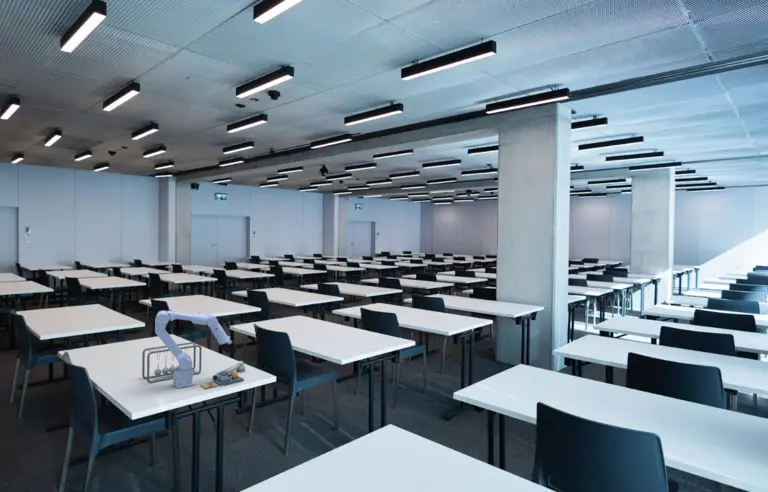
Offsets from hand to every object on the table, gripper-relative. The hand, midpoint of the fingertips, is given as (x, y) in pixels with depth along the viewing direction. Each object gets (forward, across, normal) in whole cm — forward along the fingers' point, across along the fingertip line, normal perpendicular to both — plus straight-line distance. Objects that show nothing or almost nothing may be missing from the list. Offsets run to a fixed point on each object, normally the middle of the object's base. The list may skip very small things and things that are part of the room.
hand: (232, 353), depth 260 cm
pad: (+6, -2, +21) cm, 22 cm away
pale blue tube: (+14, +10, +5) cm, 18 cm away
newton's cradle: (-2, +29, +27) cm, 39 cm away
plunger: (+12, -2, +7) cm, 14 cm away
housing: (+12, -2, +11) cm, 16 cm away
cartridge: (+11, -2, +13) cm, 17 cm away
